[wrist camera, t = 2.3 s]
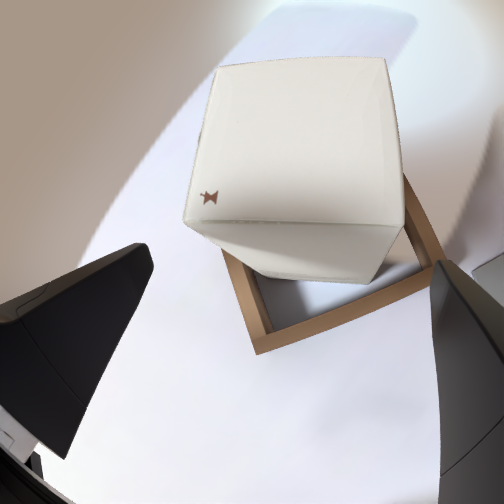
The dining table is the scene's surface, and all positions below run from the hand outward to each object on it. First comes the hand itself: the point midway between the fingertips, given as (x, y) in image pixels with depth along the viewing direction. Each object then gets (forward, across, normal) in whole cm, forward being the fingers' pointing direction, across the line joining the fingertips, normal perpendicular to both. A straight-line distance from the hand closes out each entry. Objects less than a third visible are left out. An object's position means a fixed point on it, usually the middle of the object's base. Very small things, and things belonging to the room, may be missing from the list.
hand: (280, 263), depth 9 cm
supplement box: (+12, 0, +6) cm, 14 cm away
